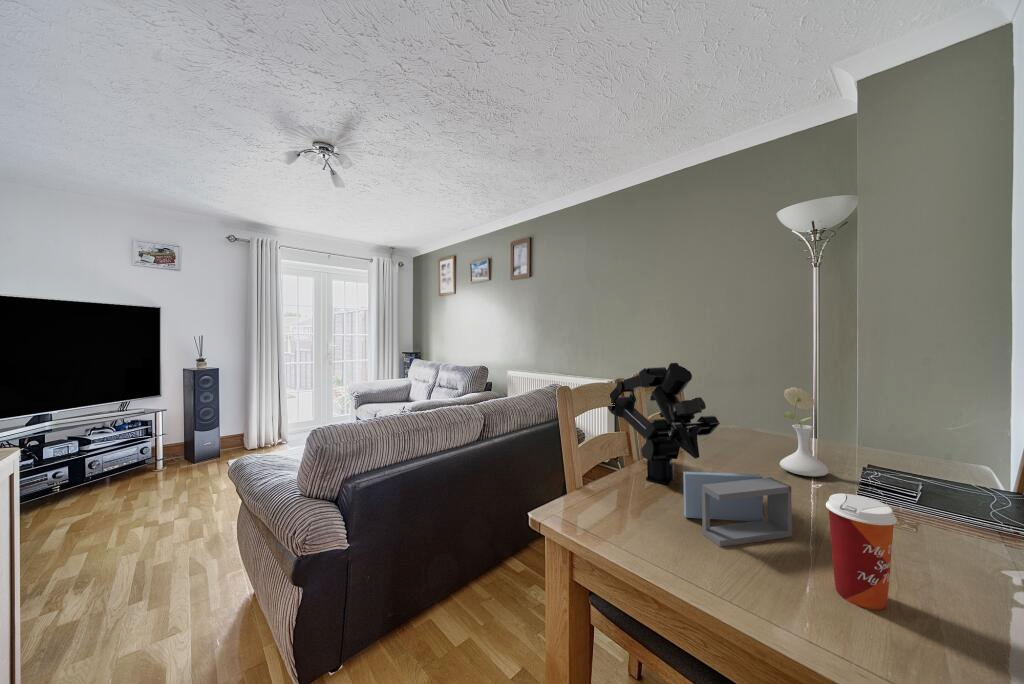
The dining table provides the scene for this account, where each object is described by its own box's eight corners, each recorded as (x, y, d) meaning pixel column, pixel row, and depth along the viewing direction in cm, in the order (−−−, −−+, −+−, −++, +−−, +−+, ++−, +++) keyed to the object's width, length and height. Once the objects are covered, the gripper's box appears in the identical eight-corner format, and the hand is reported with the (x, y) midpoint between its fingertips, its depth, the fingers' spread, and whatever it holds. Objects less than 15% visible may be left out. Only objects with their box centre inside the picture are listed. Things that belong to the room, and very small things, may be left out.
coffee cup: (884, 623, 54) (883, 520, 53) (816, 589, 61) (815, 498, 61) (907, 603, 57) (906, 507, 57) (840, 573, 65) (840, 488, 64)
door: (682, 511, 87) (681, 469, 87) (762, 516, 84) (761, 472, 84) (685, 517, 84) (685, 473, 84) (768, 522, 82) (767, 476, 81)
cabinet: (702, 533, 78) (701, 484, 78) (770, 524, 81) (770, 477, 81) (719, 546, 73) (719, 494, 73) (791, 536, 76) (791, 486, 76)
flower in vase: (839, 480, 104) (838, 391, 104) (798, 480, 104) (797, 392, 104) (803, 463, 117) (803, 384, 117) (767, 464, 117) (766, 385, 117)
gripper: (649, 388, 95) (676, 444, 84) (714, 385, 98) (748, 438, 87) (634, 413, 103) (657, 466, 92) (694, 409, 106) (724, 460, 95)
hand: (697, 457), depth 92 cm, fingers closed
